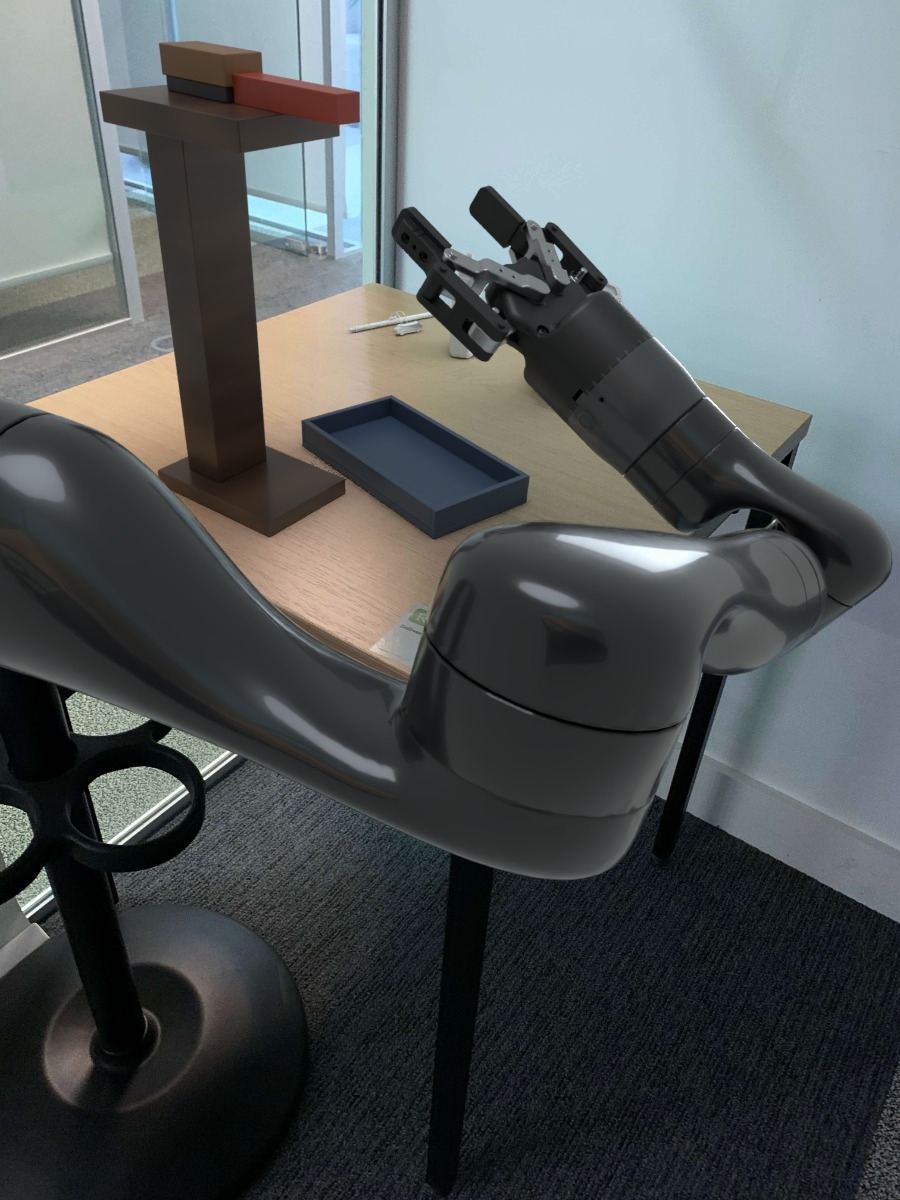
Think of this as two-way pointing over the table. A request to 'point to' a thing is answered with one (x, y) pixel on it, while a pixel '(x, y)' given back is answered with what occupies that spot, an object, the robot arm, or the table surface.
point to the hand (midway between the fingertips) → (440, 207)
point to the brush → (251, 83)
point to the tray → (415, 464)
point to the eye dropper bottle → (455, 345)
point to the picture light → (401, 327)
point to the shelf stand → (219, 300)
